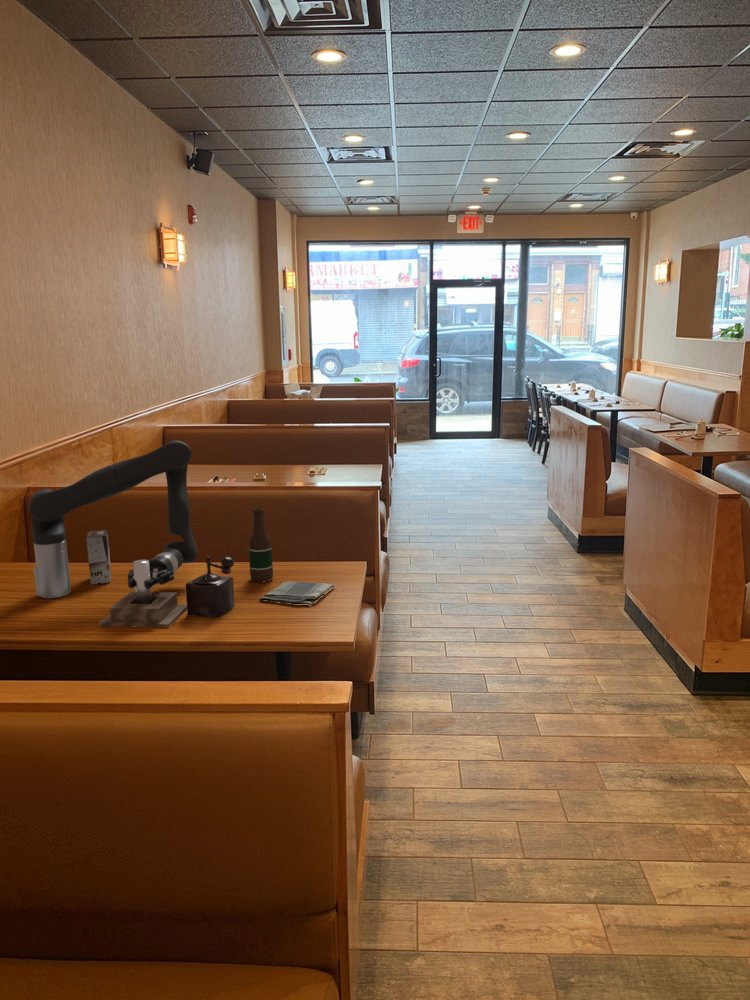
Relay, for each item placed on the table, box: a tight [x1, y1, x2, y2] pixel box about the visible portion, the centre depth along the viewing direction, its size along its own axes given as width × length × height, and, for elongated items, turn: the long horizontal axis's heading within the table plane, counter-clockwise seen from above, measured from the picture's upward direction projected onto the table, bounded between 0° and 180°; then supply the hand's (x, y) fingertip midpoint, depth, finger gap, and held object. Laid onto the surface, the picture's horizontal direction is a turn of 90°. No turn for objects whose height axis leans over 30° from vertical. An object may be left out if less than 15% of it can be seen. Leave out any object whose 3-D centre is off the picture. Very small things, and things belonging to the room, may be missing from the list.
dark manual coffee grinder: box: [185, 555, 235, 618], centre depth 219 cm, size 16×11×18 cm
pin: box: [132, 559, 153, 604], centre depth 216 cm, size 4×4×14 cm
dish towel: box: [258, 580, 335, 606], centre depth 234 cm, size 19×18×3 cm
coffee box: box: [85, 529, 112, 585], centre depth 252 cm, size 9×6×16 cm
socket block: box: [99, 591, 187, 628], centre depth 218 cm, size 20×16×5 cm
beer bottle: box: [248, 507, 274, 583], centre depth 248 cm, size 8×8×24 cm
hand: (138, 585), depth 213 cm, fingers closed on pin, 4 cm apart
